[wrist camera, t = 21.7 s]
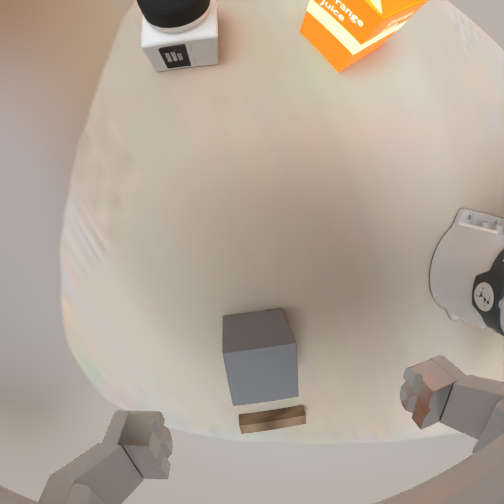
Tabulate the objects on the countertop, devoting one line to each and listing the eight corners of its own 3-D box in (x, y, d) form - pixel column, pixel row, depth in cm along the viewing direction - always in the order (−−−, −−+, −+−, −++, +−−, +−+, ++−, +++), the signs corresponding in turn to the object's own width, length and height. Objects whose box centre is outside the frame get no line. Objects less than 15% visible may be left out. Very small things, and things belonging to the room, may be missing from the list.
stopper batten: (302, 404, 41) (305, 415, 38) (302, 413, 41) (305, 423, 39) (238, 414, 40) (239, 425, 38) (240, 422, 41) (241, 433, 38)
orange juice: (380, 47, 30) (458, -25, 10) (338, 73, 31) (411, -11, 11) (342, 9, 28) (394, -79, 9) (297, 32, 29) (333, -71, 10)
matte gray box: (281, 308, 37) (296, 342, 28) (284, 356, 38) (298, 396, 30) (222, 316, 36) (222, 353, 28) (230, 363, 38) (233, 405, 29)
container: (219, 65, 30) (217, 8, 17) (155, 73, 29) (123, 23, 16) (216, 17, 28) (215, -46, 15) (157, 25, 27) (132, -33, 15)
